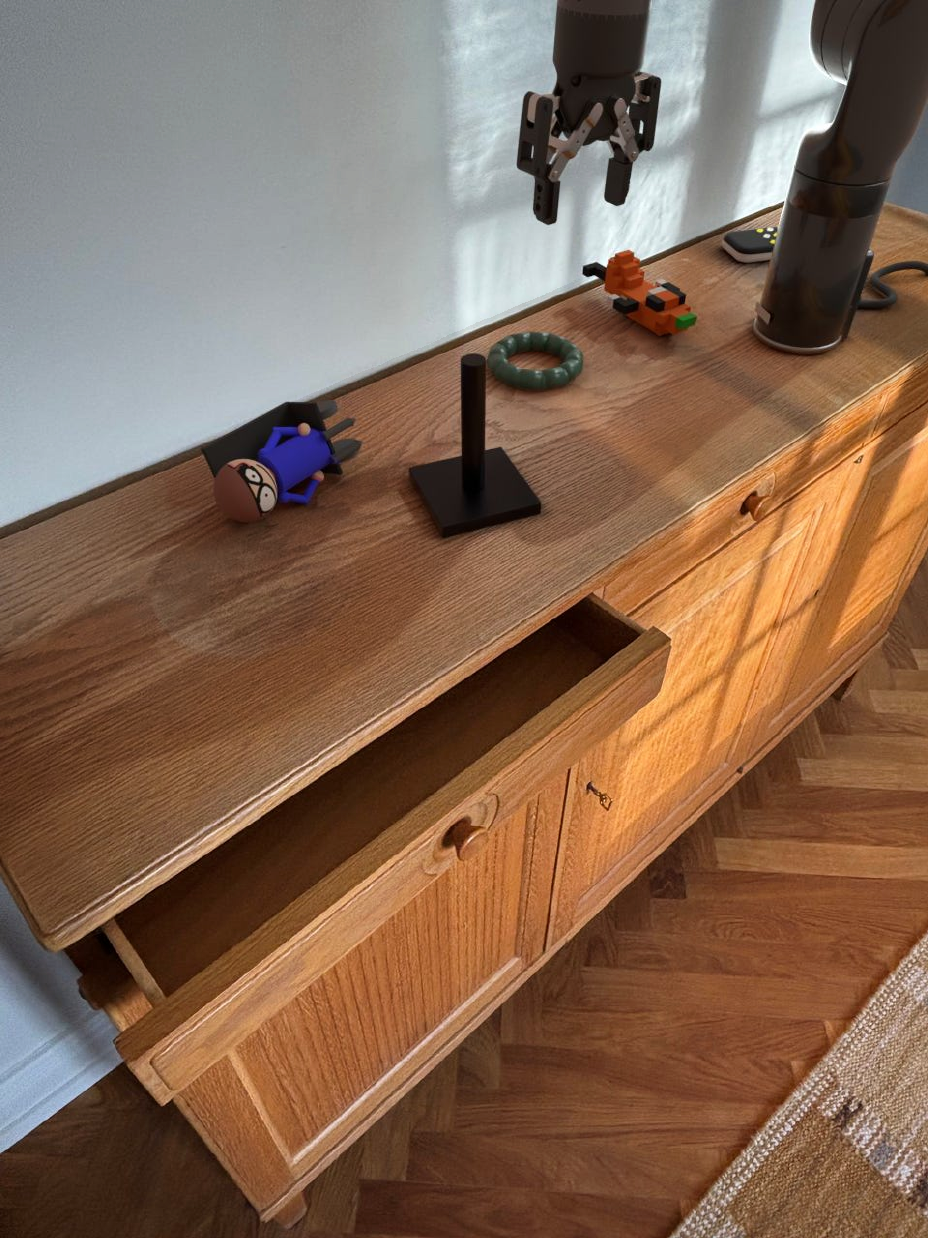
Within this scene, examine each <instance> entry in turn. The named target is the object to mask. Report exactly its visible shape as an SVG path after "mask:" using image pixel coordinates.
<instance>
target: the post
mask: <svg viewBox="0 0 928 1238" xmlns="http://www.w3.org/2000/svg"><path fill="white" fill-rule="evenodd" d="M459 361H460V424H461V425H460V430H461V431H460V434H461V435H460V438H461V446H460V447H461V455H459V456H454V457H449V458H445V459H441V460H436V461H432V462H427V463H423V464H419V465H414V466H409V467H408V478H409V481H410V482H411V484H412V486H413V488H414V489H415V492H416V493H417V495H418V496H419V498H420V500H421V502H422V503H423V505H424V507H425V509H426V511H427V513H428V514H429V517H430V518H431V519H432V521H433V523H434V525H435V526H436V528H437V530H438V532H439V534H440V535H441V537H442V539H445V538H449V537H453V536H457V535H461V534H465V533H468V532H473V531H477V530H480V529H484V528H485V529H486V528H488V527H493V526H497V525H501V524H505V523H508V522H513V521H517V520H521V519H525V518H528V517H532V516H536V515H540V514H542V501H541V500H540V498H539V497H538V496H537V495H536V493H535V492H534V490H533V489H532V487H531V486H530V484H529V483H528V482H527V481H526V479H525V478H524V477H523V475H522V474H521V471H519V469H518V467H516V464H514V463H513V461H512V459H511V458H510V457H509V455H508V454H507V452H506V451H505V450H504V448H503V447H502V446H497V447H493V448H488V449H486V424H487V423H486V419H487V418H486V417H487V416H486V415H487V413H486V412H487V409H486V408H487V358H486V356H485V355H483V354H481V353H477V352H471V353H466V354H464V355H462V356H461V357H460V360H459Z"/></svg>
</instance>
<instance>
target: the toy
mask: <svg viewBox="0 0 928 1238" xmlns="http://www.w3.org/2000/svg"><path fill="white" fill-rule="evenodd" d="M640 263H641V259H640V258H638V257H636V256H635V252H634V251H632V250H630V249H626V250H623V251H620V252H616V253H614V256H611V257H610V258H608V260H607V264H606V266H605V265H603V264H601V263H600V262H599V261H595V262H591V263H588V264H585V265H582V273H581V274H582V276H584V277H586V278H591V277H596V278H598V279H600V280H601V281H603V282H604V289H603V291H605V292H606V293H608V294H609V295H607V299H606V305H607V306H608V307H610V308H611V309H613V310H615V311H616V312H617V313H620V314H621V315H623V316H626V317H628V318H630V319H632V320H633V321H634V322H636V323H638V324H640V325H642V326H643V327H645V328H646V329H647V330H649V331H651V332H653V333H654V334H655V335H658V336H659V337H660V336H663V335H666V334H667V335H668V334H669V333H670V334H671V335H673V336H674V335H676V334H677V335H678V334H679V333H680V334H681V333H682V332H683V333H684V332H686V331H688V328H691V327H694V326H696V323H697V322H696V321H697V315H696V314H693V313H692V312H691V309H692V306H691V305H688V304H687V303H686V299H687V294H686V293H685V292H683V291H681V288H680V287H678V286H676V285H674V284H673V283H671V282H669V281H668V280H665V279H664V278H660V279H658V280H655V283H654V285H653V284H652V283H649V282H648V281H646V280H644V278H645V270H643V269H641V268H640Z"/></svg>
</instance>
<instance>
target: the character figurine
mask: <svg viewBox="0 0 928 1238" xmlns="http://www.w3.org/2000/svg"><path fill="white" fill-rule="evenodd" d="M338 412H339V407H338V404H337V401H336V400H335V399H327V400H321V401H318V402H316V401H285V402H282V403H281V404H279V405H277V406H275V407H274V408H272V409H270V410H268V411H266V412H265V413H263V414H260V415H258V416H257V417H255V418H254V419H252V420H250V421H248V422H246V423H244V424H242V425H241V426H239V427H237V428H235V429H233V430H232V431H230V432H228V433H226V434H225V435H222V436H221V437H219V438H217V439H215V440H214V441H212V442H210V443H208V444H206V445H204V446H203V447H200V451H201V452H202V455H203V457H204V460H205V461H206V463H207V466H208V467H209V470H210V472H211V474H212V476H213V479H214V482H213V496H214V500H215V502H216V504H217V506H218V508H219V509H220V510H221V512H222V513H223V514H224V515H225V516H227V517H228V518H230V519H232V520H233V521H236V522H241V523H255V522H259V521H261V520H263V519H264V518H266V517H267V516H268V515H269V514H270V513H271V512H272V511H273V509H274V507H275V505H276V503H277V501H278V502H279V503H281V504H287V503H288V502H292V503H297V504H304V505H308V504H309V503H310V500H311V498H312V496H313V494H314V493H315V491H316V489H317V487H318V485H319V483H321V482H323V481H324V480H325V479H324V478H325V475H324V474H330V475H339V476H342V475H343V474H344V471H343V469H342V467H341V463H344V462H347V461H348V460H350V459H352V458H354V457H355V456H357V455H358V454H359V453H360V450H361V448H362V444H363V442H364V440H357V439H356V438H343V439H338V440H336V441H332V440H331V439H332V438H334V437H336V436H337V435H339V434H340V433H342V432H344V431H346V430H348V429H349V428H351V427H353V426H354V425H355V422H356V420H357V418H353V417H346V418H344V419H343V420H341V421H339V422H338V423H336V424H334V425H333V426H331V427H329V428H327V427H326V423H325V422H324V421H325V420H327V419H330V418H331V417H333V416H334V415H336V414H337V413H338ZM309 477H310V481H309V483H308V484H307V486H306V488H305V490H304V492H303V494H297V493H291V492H288V490H290V489H291V488H293V487H295V486H297V485H298V484H300V483H302V482H303V481H305V480H306V479H308V478H309Z"/></svg>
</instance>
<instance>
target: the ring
mask: <svg viewBox="0 0 928 1238" xmlns="http://www.w3.org/2000/svg"><path fill="white" fill-rule="evenodd" d="M525 352H542V353H548V354H551V355H554V356H556V357H559V358H560V359H561V360H562V361H563V362H562V363H561V364H559V365H558V366H556V367H555V366H554V367H552V368H546V369H541V370H540V369H530V368H529V369H528V368H521V367H519V366H517V365H514V364H511V363H510V362H509V360H508V359H509V358H511V357H512V356H513V355H515V354H520V353H525ZM584 359H585V357H584V353H583V352H582V350H581V349H580V348H579V347H578V346H577V345H576V344H575V343H574V341H572V340H571V339H569V338H566V337H564V336H561V335H559V334H555V333H552V332H545V331H523V332H519V333H513V334H508V335H506V336H505V337H503V338H501V339H499V340H498V341H496V342H495V343H493V344H492V345H491V346H490V348H489V351H488V354H487V358H486V368H488V370H489V371H490V373H491V374H492V375H493V376H494V378H495V379H496V380H497V381H498V382H500V383H502V384H505V385H508V386H510V387H512V388H515V389H517V390H528V391H539V392H540V391H541V392H543V391H548V390H552V389H557V388H561V387H566V385H568V384H569V383H571V382H572V381H573V380H575V379H577V378H578V377H579V376H580V375H581V374H582V372H583V365H584Z"/></svg>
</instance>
